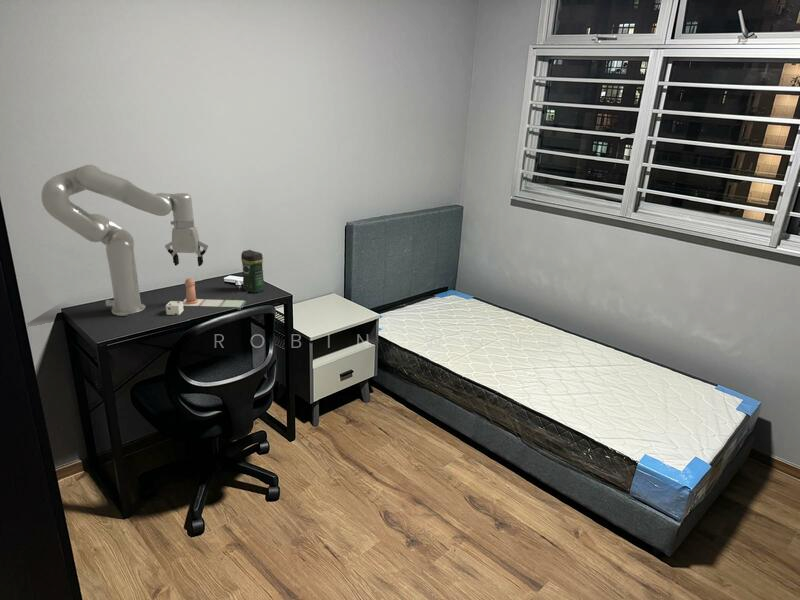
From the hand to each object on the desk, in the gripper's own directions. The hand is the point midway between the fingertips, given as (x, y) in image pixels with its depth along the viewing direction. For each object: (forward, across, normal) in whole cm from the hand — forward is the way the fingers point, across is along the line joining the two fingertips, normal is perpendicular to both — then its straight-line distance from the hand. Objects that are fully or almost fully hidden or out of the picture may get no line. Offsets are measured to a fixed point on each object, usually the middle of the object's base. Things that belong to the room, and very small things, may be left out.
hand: (188, 265), depth 232 cm
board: (+18, +8, 0) cm, 19 cm away
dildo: (+16, 0, 0) cm, 17 cm away
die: (+18, -3, -12) cm, 22 cm away
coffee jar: (+18, +21, +21) cm, 35 cm away
